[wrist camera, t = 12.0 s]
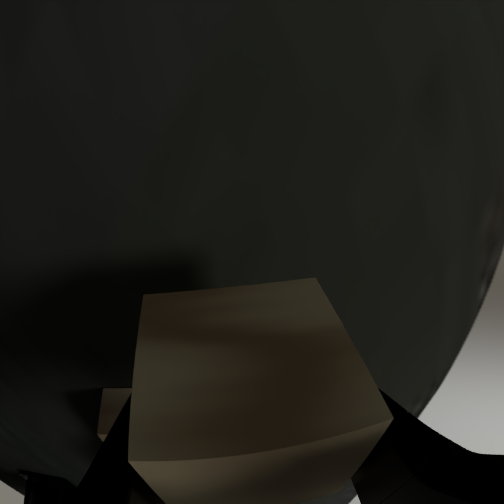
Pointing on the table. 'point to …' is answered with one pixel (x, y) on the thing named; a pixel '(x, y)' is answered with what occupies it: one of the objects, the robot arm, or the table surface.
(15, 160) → the table surface
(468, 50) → the table surface
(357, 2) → the table surface
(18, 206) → the table surface
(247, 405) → the oak block
